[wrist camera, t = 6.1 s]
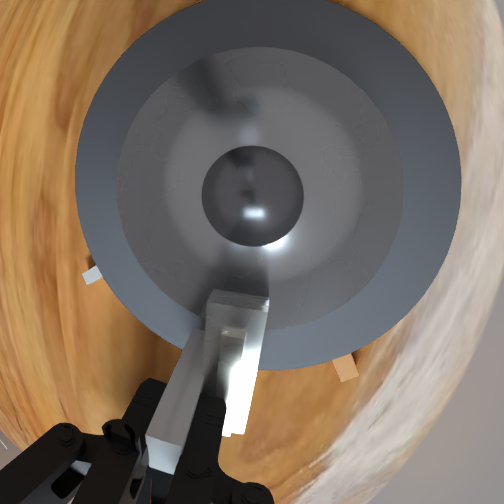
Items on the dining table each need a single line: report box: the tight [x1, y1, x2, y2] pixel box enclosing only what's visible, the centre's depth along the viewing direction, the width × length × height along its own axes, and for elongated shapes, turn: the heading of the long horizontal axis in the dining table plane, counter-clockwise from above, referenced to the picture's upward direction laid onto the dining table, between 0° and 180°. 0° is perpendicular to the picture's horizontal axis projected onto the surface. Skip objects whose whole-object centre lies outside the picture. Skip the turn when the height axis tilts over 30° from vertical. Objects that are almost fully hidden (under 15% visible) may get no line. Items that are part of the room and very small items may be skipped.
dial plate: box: [75, 0, 461, 382], centre depth 13 cm, size 22×22×2 cm
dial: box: [117, 47, 404, 437], centre depth 11 cm, size 16×10×4 cm, turn 173°
